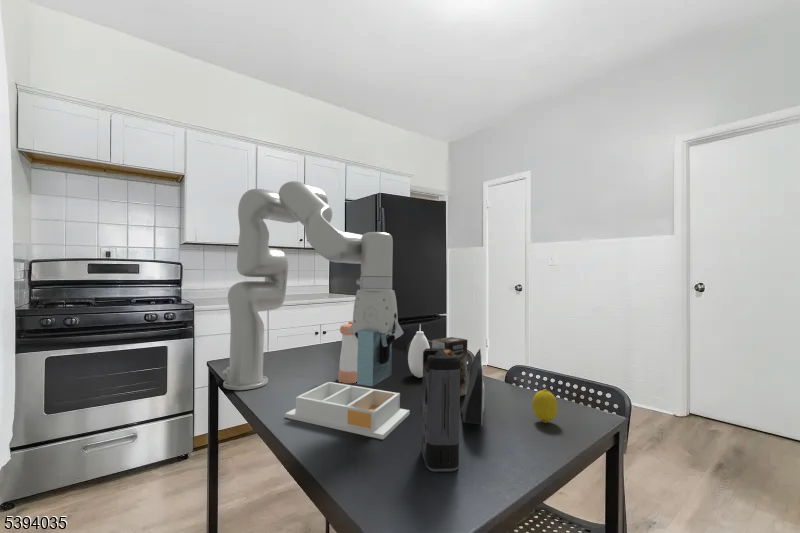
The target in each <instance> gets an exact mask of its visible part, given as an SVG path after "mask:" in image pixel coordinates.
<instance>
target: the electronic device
mask: <svg viewBox="0 0 800 533" xmlns="http://www.w3.org/2000/svg"><path fill="white" fill-rule="evenodd" d="M421 384H422V387H421V388H422V390H421V393H422V394H421V397H422V399H421V400H422V402H421V443H420V444H421V447H420V448H421V449H420V450H421V453H422V457H423V461H424V464H425V467H426V468H427V469H428V471H431V472H434V473H443V472H444V473H445V472H447V473H449V472H455V471H457V470H458V469H459V466H460V465H459V462H460V461H459V460H460V457H459V455H460V412H461V411H460V404H461V403H460V400H461V398H460V397H461V396H460V358H459V357H458V356H457V355H456V354H455V353H454V352H453V351H452V350H450V349H446V348H432V347H430V348H428V349H425V350H424V351H423V377H422V383H421Z"/></svg>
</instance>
